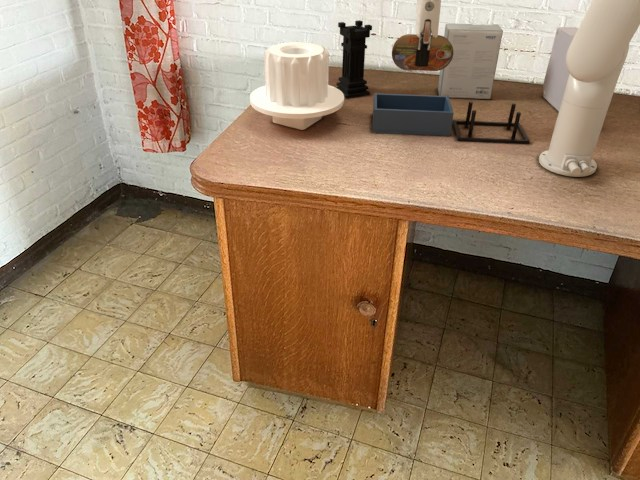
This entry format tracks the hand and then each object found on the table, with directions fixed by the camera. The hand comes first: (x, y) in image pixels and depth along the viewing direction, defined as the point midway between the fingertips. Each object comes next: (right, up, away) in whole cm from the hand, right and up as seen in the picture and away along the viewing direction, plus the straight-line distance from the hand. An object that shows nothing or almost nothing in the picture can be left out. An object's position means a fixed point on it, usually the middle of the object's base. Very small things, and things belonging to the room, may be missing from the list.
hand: (420, 63), depth 136 cm
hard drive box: (+19, 0, +30) cm, 35 cm away
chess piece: (-16, +1, +30) cm, 34 cm away
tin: (0, -1, +1) cm, 2 cm away
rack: (+19, -16, +6) cm, 26 cm away
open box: (-1, -13, +10) cm, 17 cm away
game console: (+45, -8, +19) cm, 50 cm away
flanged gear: (-32, -12, +12) cm, 36 cm away
